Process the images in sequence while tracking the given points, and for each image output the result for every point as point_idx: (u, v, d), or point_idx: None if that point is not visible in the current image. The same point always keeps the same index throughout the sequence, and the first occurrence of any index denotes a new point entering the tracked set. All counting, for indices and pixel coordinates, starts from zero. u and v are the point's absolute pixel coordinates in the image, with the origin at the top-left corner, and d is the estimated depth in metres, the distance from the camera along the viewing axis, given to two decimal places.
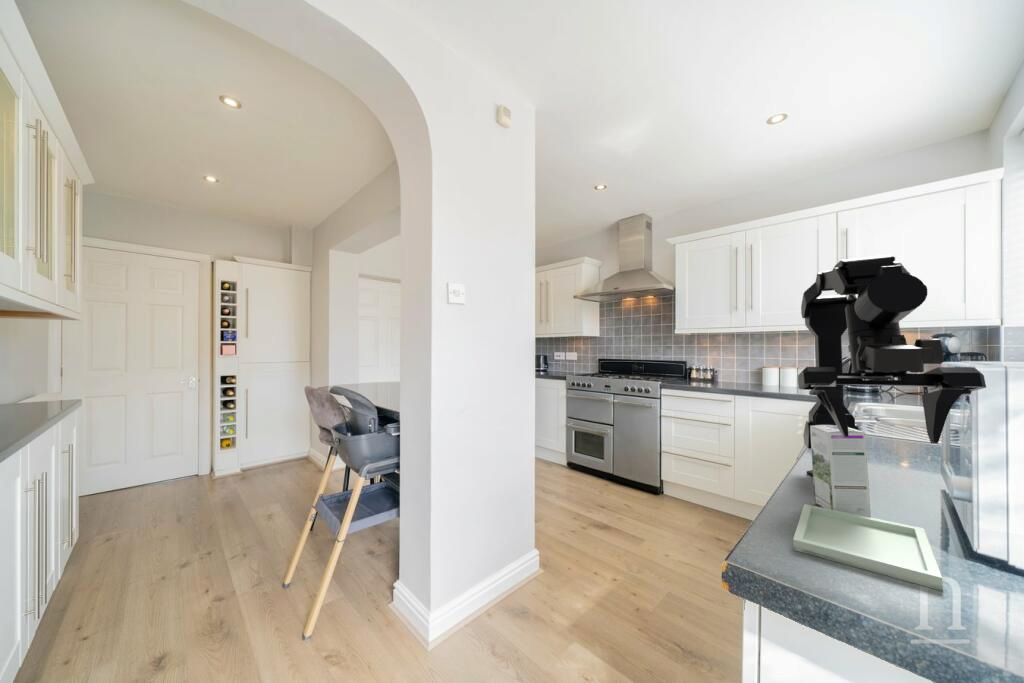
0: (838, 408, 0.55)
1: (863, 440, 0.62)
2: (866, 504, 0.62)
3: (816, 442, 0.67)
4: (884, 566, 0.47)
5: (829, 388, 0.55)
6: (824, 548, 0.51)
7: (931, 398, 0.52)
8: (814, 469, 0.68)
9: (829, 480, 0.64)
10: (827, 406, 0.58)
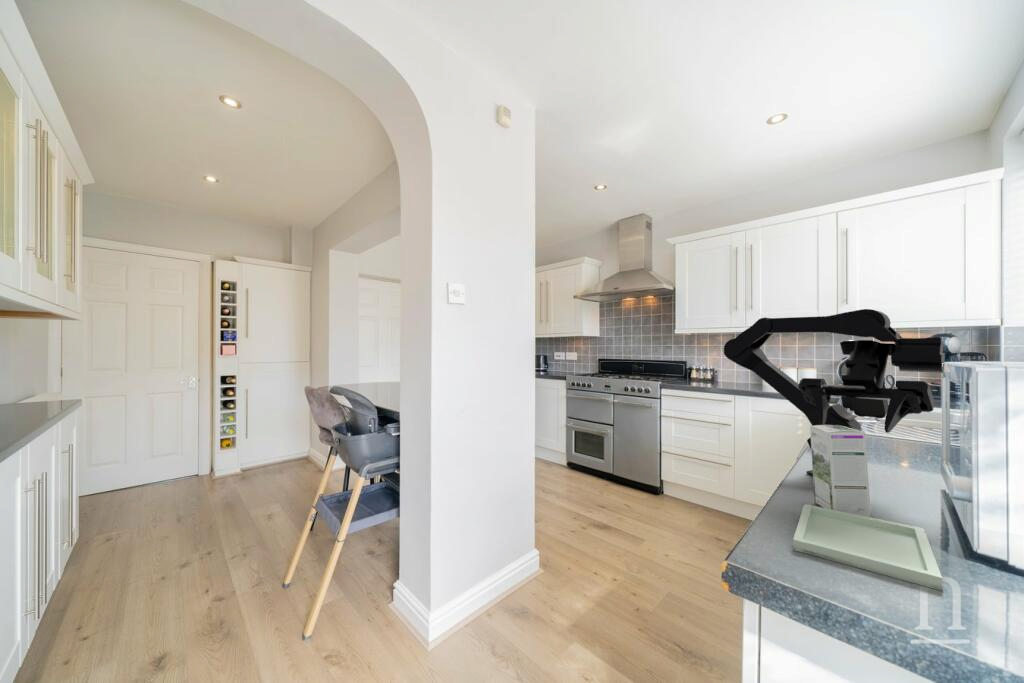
0: None
1: (863, 440, 0.62)
2: (866, 503, 0.62)
3: (816, 442, 0.67)
4: (884, 566, 0.47)
5: None
6: (824, 548, 0.51)
7: (825, 400, 0.76)
8: (814, 469, 0.68)
9: (829, 480, 0.64)
10: (900, 407, 0.66)
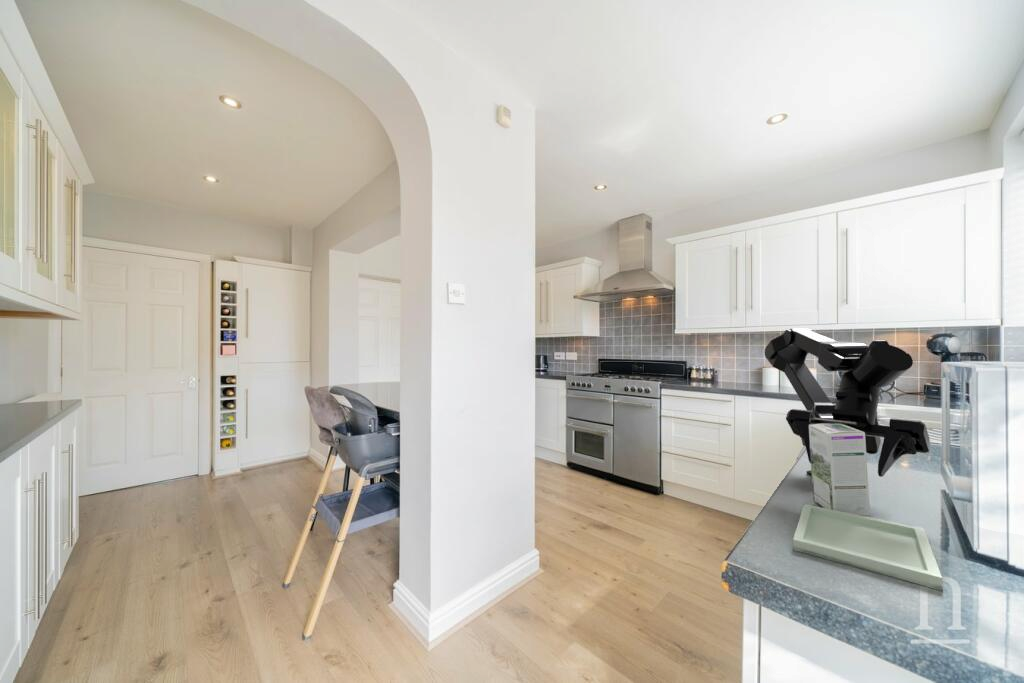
0: None
1: (863, 440, 0.62)
2: (866, 502, 0.62)
3: (815, 442, 0.66)
4: (884, 566, 0.47)
5: None
6: (824, 548, 0.51)
7: None
8: (813, 468, 0.67)
9: (829, 481, 0.63)
10: (894, 449, 0.61)
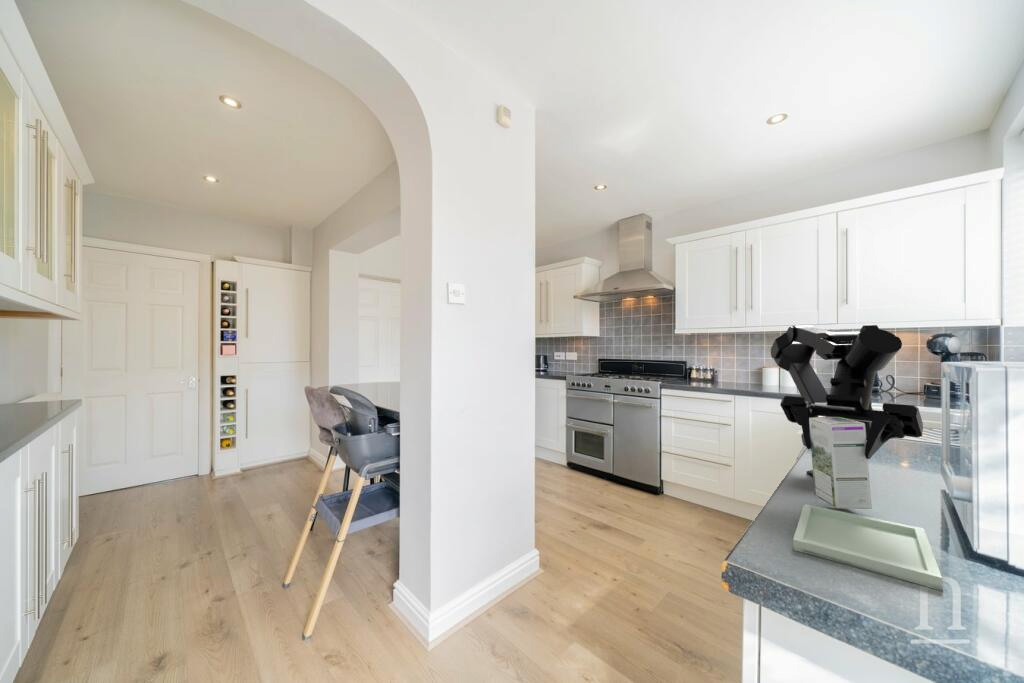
0: None
1: (863, 431, 0.62)
2: (867, 494, 0.62)
3: (816, 434, 0.66)
4: (884, 566, 0.47)
5: None
6: (824, 548, 0.51)
7: None
8: (814, 461, 0.67)
9: (831, 472, 0.63)
10: (881, 431, 0.61)
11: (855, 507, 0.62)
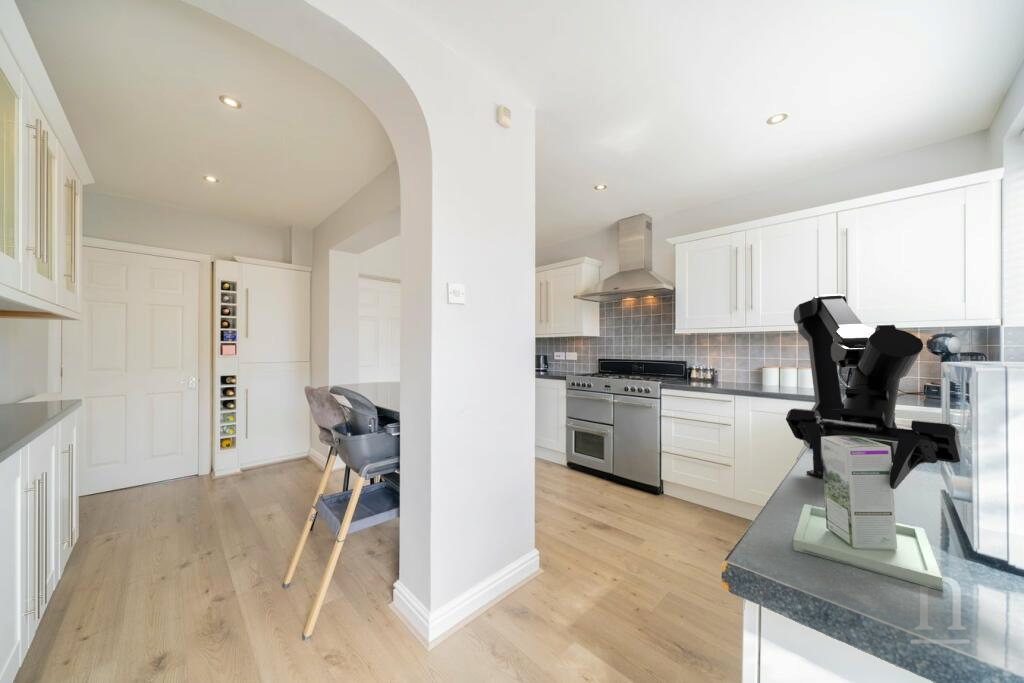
0: None
1: (888, 456, 0.51)
2: (892, 533, 0.51)
3: (830, 457, 0.55)
4: (884, 566, 0.47)
5: None
6: (824, 548, 0.51)
7: None
8: (826, 489, 0.57)
9: (848, 505, 0.52)
10: (910, 455, 0.51)
11: (877, 547, 0.51)
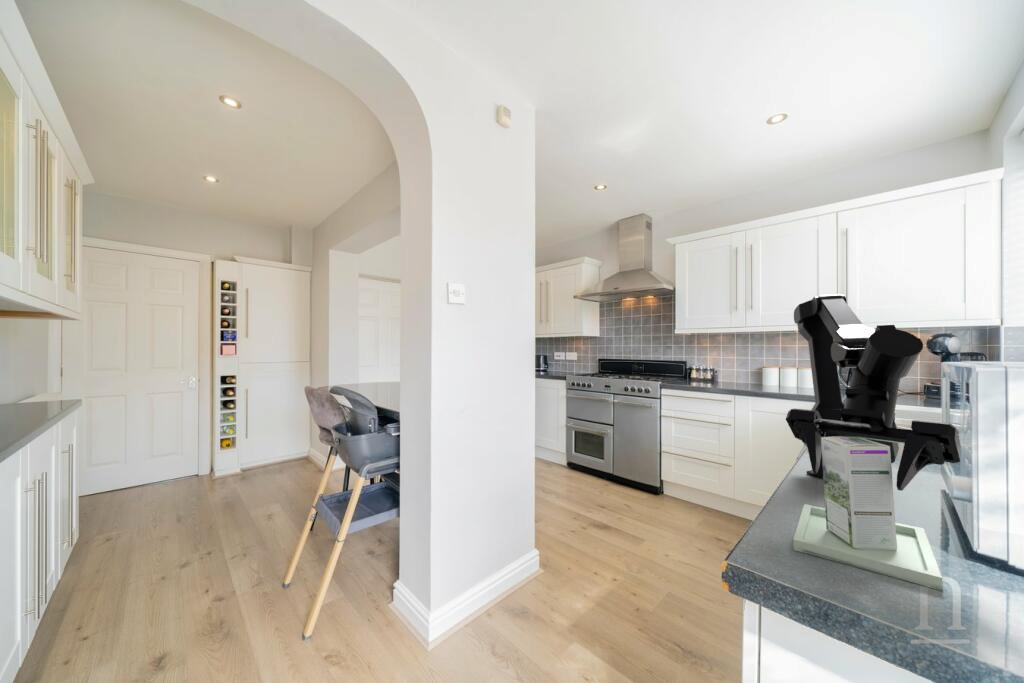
0: None
1: (888, 456, 0.52)
2: (892, 533, 0.51)
3: (829, 457, 0.56)
4: (884, 566, 0.47)
5: None
6: (824, 548, 0.51)
7: (819, 438, 0.60)
8: (826, 489, 0.57)
9: (848, 504, 0.52)
10: (917, 457, 0.50)
11: (877, 548, 0.51)
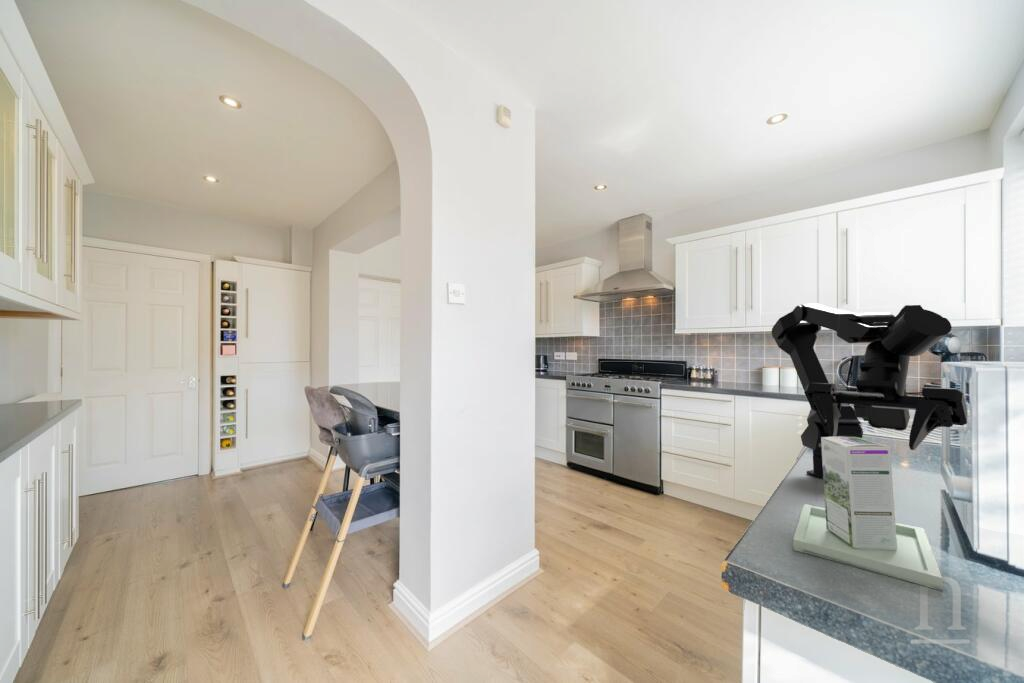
0: None
1: (888, 456, 0.52)
2: (892, 533, 0.51)
3: (829, 457, 0.56)
4: (884, 566, 0.47)
5: None
6: (824, 548, 0.51)
7: (836, 408, 0.66)
8: (826, 489, 0.57)
9: (848, 504, 0.52)
10: (927, 419, 0.55)
11: (877, 548, 0.51)
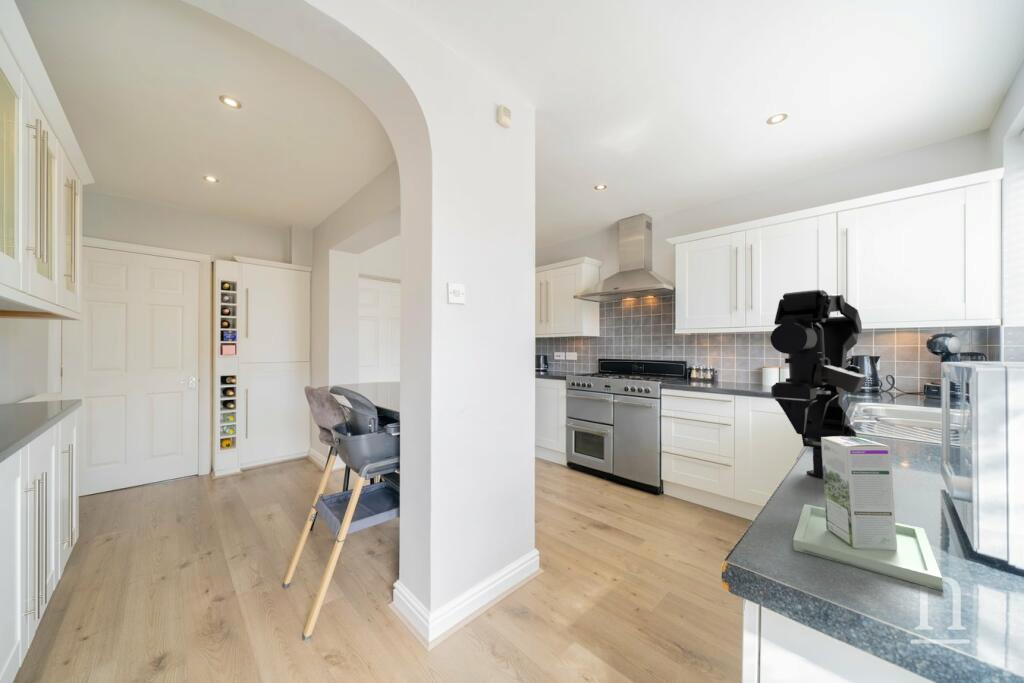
0: (806, 414, 0.70)
1: (888, 456, 0.52)
2: (892, 533, 0.51)
3: (830, 457, 0.56)
4: (884, 566, 0.47)
5: (813, 401, 0.69)
6: (824, 548, 0.51)
7: (817, 398, 0.77)
8: (826, 489, 0.57)
9: (848, 504, 0.52)
10: (788, 410, 0.72)
11: (877, 548, 0.51)
